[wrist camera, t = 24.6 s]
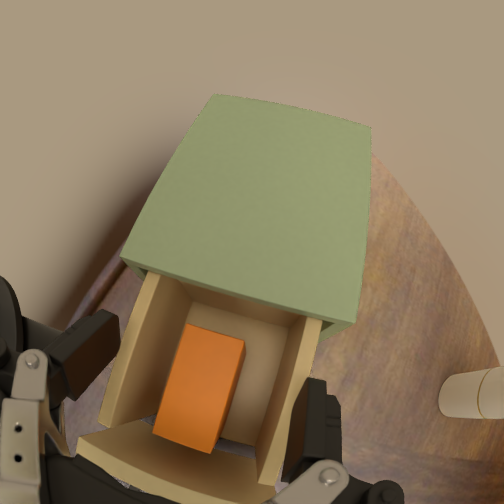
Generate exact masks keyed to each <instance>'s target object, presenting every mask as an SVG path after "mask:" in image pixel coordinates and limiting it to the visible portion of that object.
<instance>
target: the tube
mask: <svg viewBox="0 0 504 504" xmlns="http://www.w3.org/2000/svg"><path fill="white" fill-rule="evenodd" d="M438 404H439V408H440V411H441V412H442V414H443V415H445V416H447V417H457V418H477V419H504V366H501V367H496V368H491V369H485V370H480V371H474V372H467V373H460V374H454V375H452V376H450V377H449V378H447V379H446V381H445V382H444V383H443V385H442V387H441V389H440V392H439V398H438Z"/></svg>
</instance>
